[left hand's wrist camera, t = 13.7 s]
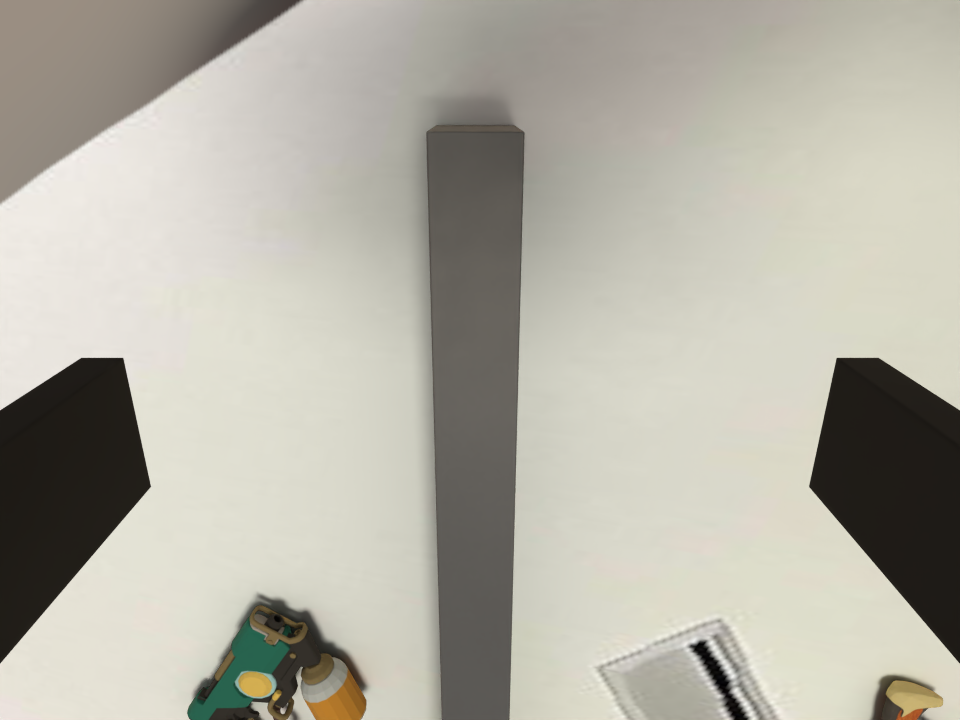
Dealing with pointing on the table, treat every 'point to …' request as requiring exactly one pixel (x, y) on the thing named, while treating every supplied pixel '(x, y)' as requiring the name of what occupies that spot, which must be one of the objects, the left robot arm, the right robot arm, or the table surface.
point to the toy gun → (908, 701)
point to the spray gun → (278, 675)
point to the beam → (475, 404)
